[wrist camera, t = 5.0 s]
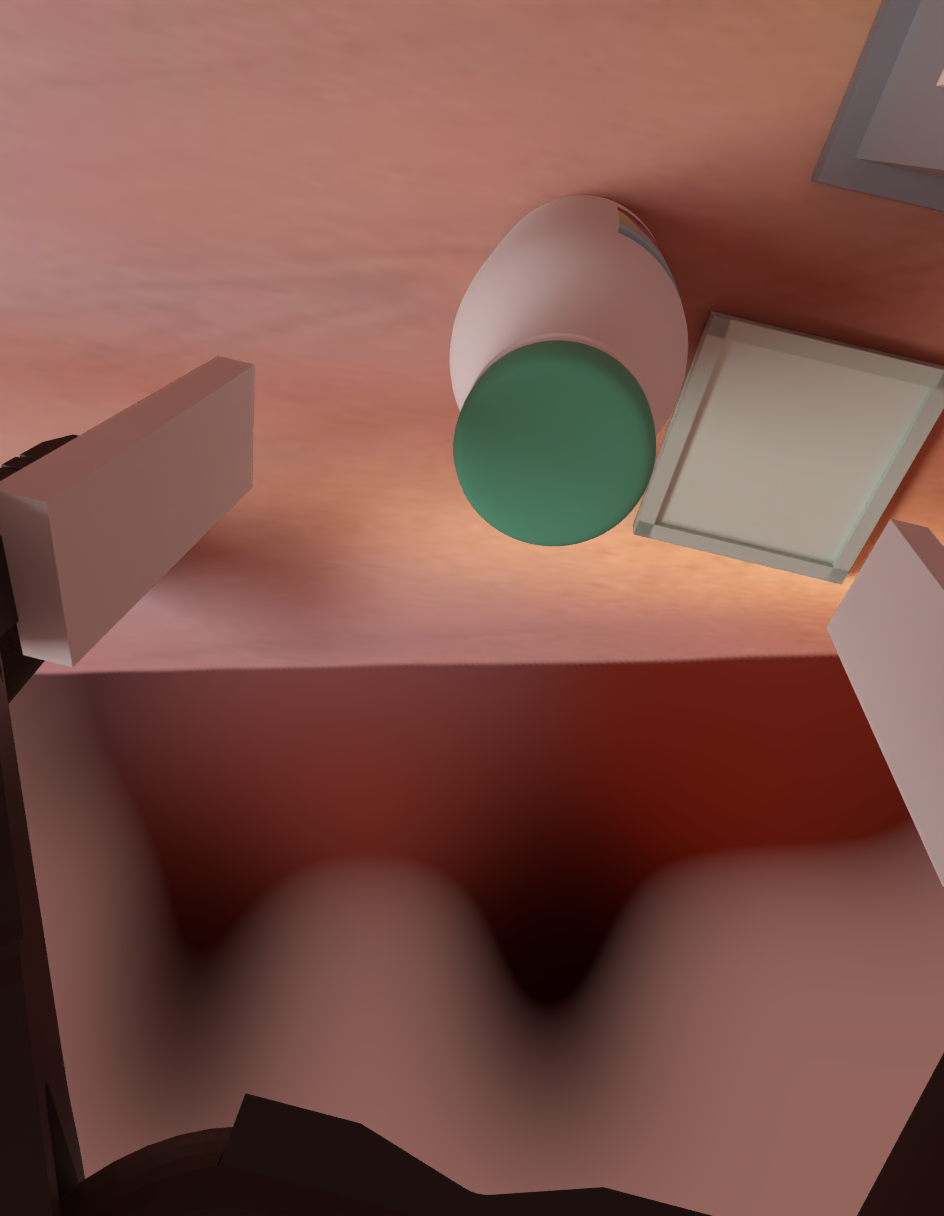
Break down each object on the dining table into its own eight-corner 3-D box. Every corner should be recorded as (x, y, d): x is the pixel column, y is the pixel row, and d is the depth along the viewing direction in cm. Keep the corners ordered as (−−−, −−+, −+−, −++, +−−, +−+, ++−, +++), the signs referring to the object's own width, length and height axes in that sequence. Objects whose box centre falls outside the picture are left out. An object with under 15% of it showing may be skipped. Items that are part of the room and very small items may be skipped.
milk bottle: (485, 369, 35) (384, 586, 19) (497, 185, 31) (378, 257, 14) (646, 385, 34) (689, 625, 18) (681, 199, 30) (780, 291, 14)
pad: (710, 310, 32) (713, 315, 31) (953, 368, 32) (963, 374, 31) (633, 525, 38) (633, 534, 38) (836, 574, 38) (841, 584, 37)
